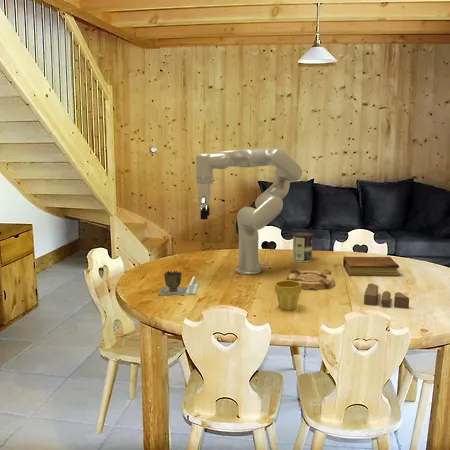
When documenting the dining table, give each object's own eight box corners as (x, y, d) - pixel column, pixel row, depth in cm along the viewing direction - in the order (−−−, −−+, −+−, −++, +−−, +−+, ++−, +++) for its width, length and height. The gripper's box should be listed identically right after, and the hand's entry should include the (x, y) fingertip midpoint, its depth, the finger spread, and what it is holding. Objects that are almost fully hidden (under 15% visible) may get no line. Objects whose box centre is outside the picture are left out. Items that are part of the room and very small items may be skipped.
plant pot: (272, 303, 221) (272, 280, 219) (297, 302, 222) (298, 279, 220) (276, 312, 211) (277, 287, 209) (303, 311, 212) (304, 286, 210)
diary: (389, 267, 278) (389, 256, 277) (398, 278, 259) (399, 266, 258) (342, 266, 279) (343, 255, 278) (349, 277, 261) (349, 265, 259)
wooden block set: (364, 292, 218) (367, 280, 235) (363, 306, 219) (367, 293, 236) (409, 296, 213) (409, 283, 229) (408, 310, 214) (409, 296, 230)
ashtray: (298, 273, 266) (299, 263, 266) (345, 281, 253) (345, 270, 252) (273, 285, 247) (273, 274, 247) (322, 294, 234) (322, 283, 233)
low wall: (198, 285, 247) (198, 276, 246) (195, 294, 233) (195, 285, 232) (189, 285, 247) (189, 276, 246) (185, 294, 233) (185, 285, 233)
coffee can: (310, 257, 296) (311, 231, 294) (313, 262, 286) (314, 235, 284) (291, 257, 296) (291, 232, 294) (293, 262, 286) (293, 235, 284)
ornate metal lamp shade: (179, 293, 233) (178, 275, 232) (162, 292, 235) (161, 274, 233) (183, 288, 240) (183, 270, 239) (167, 287, 242) (167, 270, 240)
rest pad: (187, 288, 243) (187, 287, 243) (184, 295, 232) (184, 294, 232) (162, 287, 243) (162, 286, 243) (158, 295, 233) (158, 294, 232)
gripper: (198, 178, 261) (198, 214, 264) (194, 182, 244) (195, 220, 247) (214, 178, 261) (214, 214, 264) (211, 182, 244) (211, 220, 247)
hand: (205, 217), depth 255 cm, fingers open, 9 cm apart
